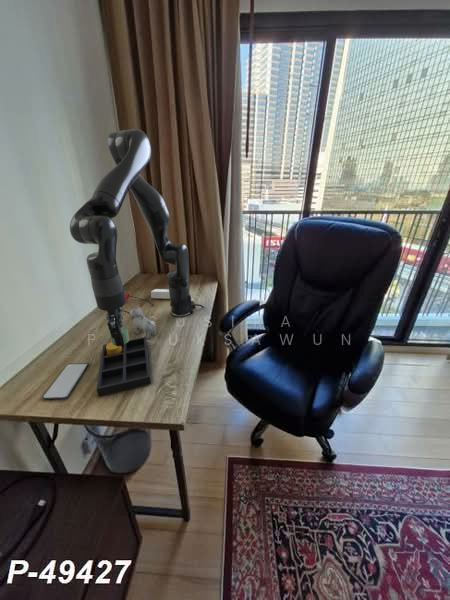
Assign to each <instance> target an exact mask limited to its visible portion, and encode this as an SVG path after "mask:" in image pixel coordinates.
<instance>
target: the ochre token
mask: <svg viewBox="0 0 450 600" xmlns="http://www.w3.org/2000/svg"><path fill="white" fill-rule="evenodd" d="M106 344H107V345H106ZM106 344H105V345H106V350H107V353H108V356H109V355H114V354H119V353H123V351H122V347H121V346H115V345H113V344H112V341H110V342H109V343H106Z"/></svg>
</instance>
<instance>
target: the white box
mask: <svg viewBox="0 0 450 600" xmlns="http://www.w3.org/2000/svg"><path fill="white" fill-rule="evenodd" d="M150 298H151V299H168V300H170V294H169V288H168V289H167V288H166V289H165V288H161V289H160V288H155V289H153V290H151V291H150Z"/></svg>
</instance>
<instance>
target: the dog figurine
mask: <svg viewBox="0 0 450 600" xmlns="http://www.w3.org/2000/svg"><path fill="white" fill-rule="evenodd" d="M129 313H130V314H129V316H130V317H131V318H133V317H134V318H133V326H134V328H135V333H136V335H139V334H140V330H142V331H143V332H144V337H146V340H149V335H150V332H151V333H152V336H156V335H157V333H156V323H155V321H153V320H151V319H149V318H148V317H147V316H145V315H144V312H143V310H142V307H140V306H138V307H136V309H135V308H132V309H131V310H130V311H129Z"/></svg>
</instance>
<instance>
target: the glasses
mask: <svg viewBox="0 0 450 600" xmlns="http://www.w3.org/2000/svg"><path fill="white" fill-rule="evenodd" d="M124 295H125V299H126V303H127V302H128V300H129V299H130V298H134V299H138V300H142V301H146V302H148V303H149V304H150V305H151V306H154V304H153V303H152V302H150V301H149V300H148V299H145V298H141V297H137V296H133V295H130V294H129V293H128V292H127V293H125V292H124ZM122 312H124V313H127V314H129V315H130V311H127V310H123V309H122ZM132 319H134V317H132Z"/></svg>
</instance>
